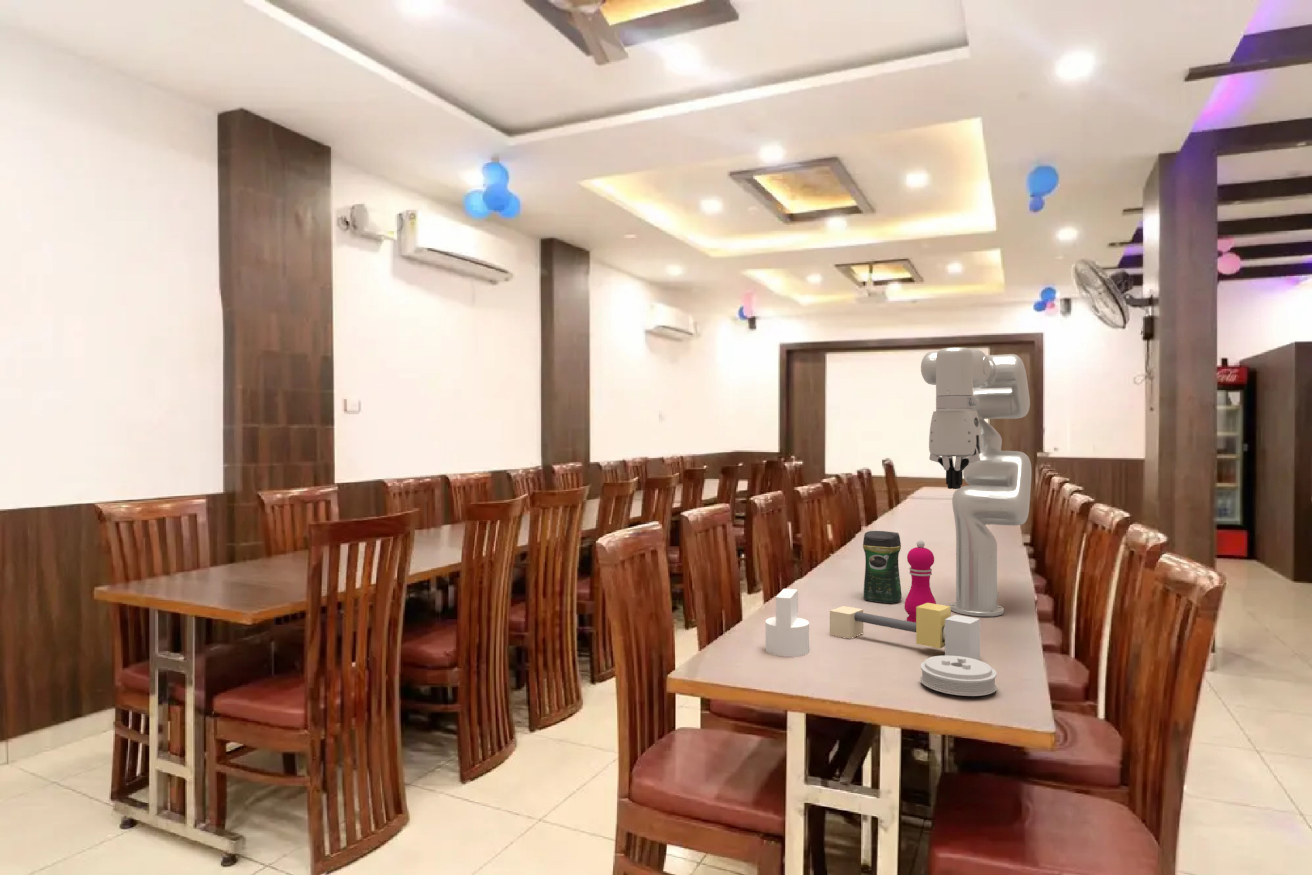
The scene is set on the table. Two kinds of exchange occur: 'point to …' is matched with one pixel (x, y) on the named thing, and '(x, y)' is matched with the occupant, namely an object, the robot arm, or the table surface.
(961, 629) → the slider rail
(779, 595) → the base with upright slab
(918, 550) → the pepper mill
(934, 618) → the pale yellow upright block
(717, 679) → the table surface
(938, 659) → the lid
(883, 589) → the coffee jar
